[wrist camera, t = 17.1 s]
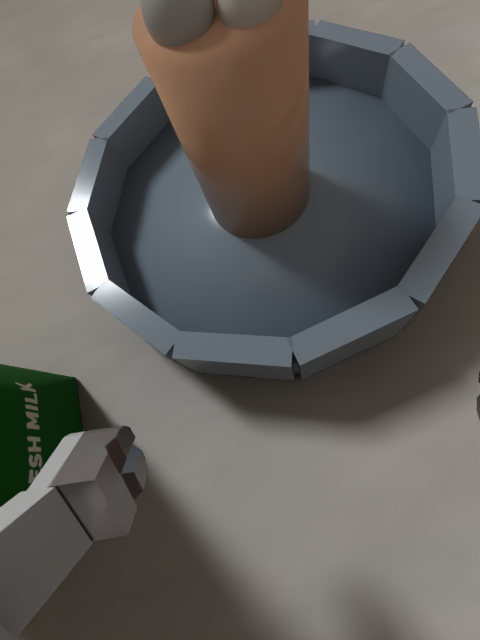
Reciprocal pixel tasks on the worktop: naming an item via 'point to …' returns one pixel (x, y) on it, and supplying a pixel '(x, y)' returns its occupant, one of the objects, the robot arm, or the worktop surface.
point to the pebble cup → (236, 102)
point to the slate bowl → (300, 238)
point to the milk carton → (32, 423)
